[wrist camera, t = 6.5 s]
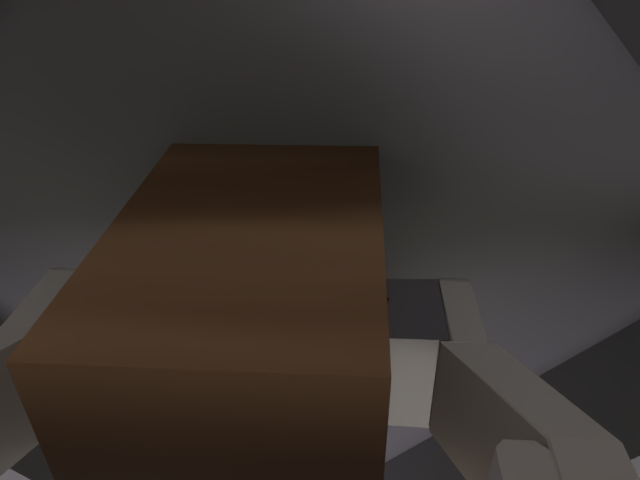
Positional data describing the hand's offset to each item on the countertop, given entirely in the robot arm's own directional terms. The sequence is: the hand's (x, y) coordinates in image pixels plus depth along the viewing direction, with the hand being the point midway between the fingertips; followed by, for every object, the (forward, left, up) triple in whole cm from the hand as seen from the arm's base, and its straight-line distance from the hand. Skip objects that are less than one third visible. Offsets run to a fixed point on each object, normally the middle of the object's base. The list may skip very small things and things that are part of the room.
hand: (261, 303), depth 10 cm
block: (0, 0, -2) cm, 2 cm away
